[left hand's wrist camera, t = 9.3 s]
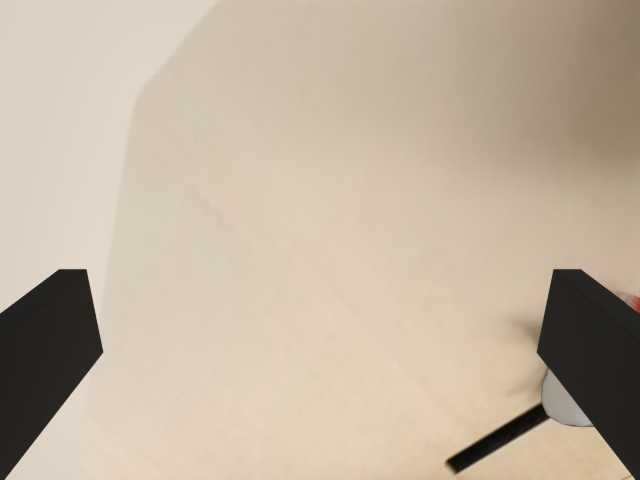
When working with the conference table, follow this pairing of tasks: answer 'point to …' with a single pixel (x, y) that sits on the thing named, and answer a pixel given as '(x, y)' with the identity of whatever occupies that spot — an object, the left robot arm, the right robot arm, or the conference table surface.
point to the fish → (559, 399)
